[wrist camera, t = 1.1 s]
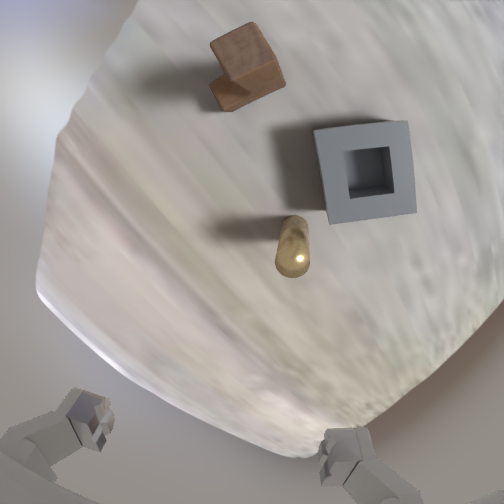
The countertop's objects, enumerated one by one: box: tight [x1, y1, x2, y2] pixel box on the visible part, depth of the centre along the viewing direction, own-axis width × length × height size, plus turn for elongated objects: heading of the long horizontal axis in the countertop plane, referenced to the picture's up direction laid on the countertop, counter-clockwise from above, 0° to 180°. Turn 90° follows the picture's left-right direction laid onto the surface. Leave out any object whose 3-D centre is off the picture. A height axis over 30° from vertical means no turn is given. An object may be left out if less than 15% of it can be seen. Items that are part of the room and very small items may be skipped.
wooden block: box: [209, 22, 286, 112], centre depth 30 cm, size 9×4×18 cm, turn 117°
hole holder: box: [312, 121, 417, 225], centre depth 37 cm, size 12×12×6 cm
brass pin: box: [275, 215, 310, 278], centre depth 40 cm, size 4×4×12 cm
